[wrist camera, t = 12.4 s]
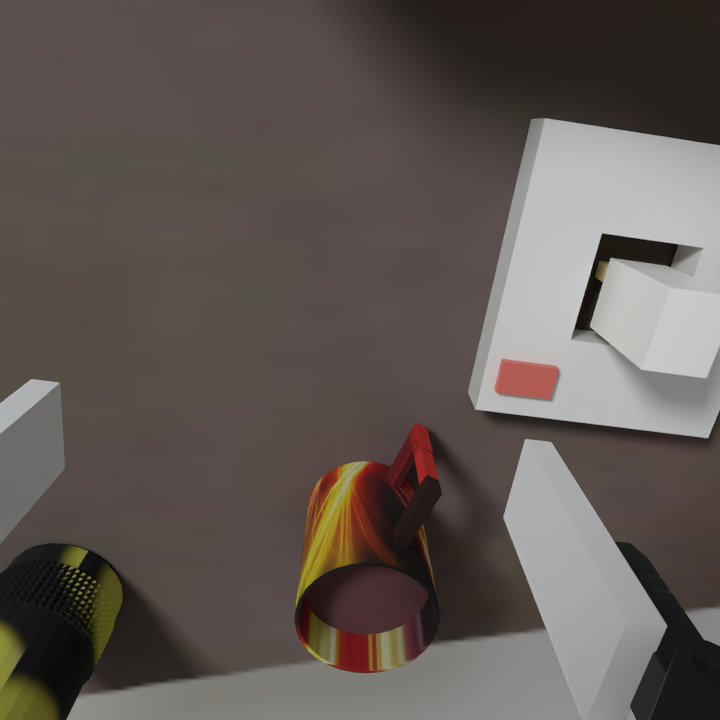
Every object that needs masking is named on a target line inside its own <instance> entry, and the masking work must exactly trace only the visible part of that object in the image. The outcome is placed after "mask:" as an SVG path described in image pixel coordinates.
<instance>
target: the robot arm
mask: <svg viewBox="0 0 720 720" xmlns="http://www.w3.org/2000/svg"><path fill="white" fill-rule="evenodd" d="M64 469H65V462H64V445H63V427H62V409H61V392H60V383H58V382H50V381H41V380H33V379H31V380H30V381H29V382H27V383H26V384H25V385H23V386H22V387H21V388H19V389H18V390H17V391H16V392H14V393H13V394H12V395H10V396H9V397H8V398H6V399H5V400H4V401H3V402H1V403H0V544H1V542H2V541H3V540H4V539H5V538H6V536H7V535H8V534H9V533H10V532H11V531H12V529H13V528H14V527H15V526H16V525H17V524H18V522H19V521H20V520H21V519H22V518H23V517H24V515H25V514H26V513H27V512H28V511H29V510H30V508H31V507H32V506H33V505H34V504H35V503H36V501H37V500H38V499H39V498H40V497H41V496H42V494H43V493H44V492H45V491H46V490H47V489H48V487H49V486H50V485H51V484H52V483H53V482H54V480H55V479H56V478H57V477H58V476H59V475H60V473H61V472H62V471H63V470H64ZM503 518H504V521H505V523H506V526H507V528H508V531H509V533H510V536H511V539H512V541H513V544H514V546H515V549H516V552H517V554H518V557H519V559H520V562H521V565H522V567H523V570H524V572H525V575H526V578H527V580H528V583H529V585H530V588H531V591H532V593H533V596H534V598H535V601H536V603H537V606H538V609H539V611H540V614H541V616H542V619H543V622H544V624H545V627H546V629H547V632H548V635H549V637H550V640H551V642H552V645H553V648H554V650H555V652H556V655H557V658H558V660H559V663H560V666H561V668H562V671H563V673H564V676H565V679H566V681H567V684H568V686H569V689H570V691H571V694H572V697H573V699H574V702H575V705H576V707H577V710H578V712H579V715H580V718H581V720H626V718H627V716H628V713H629V711H630V709H632V712H633V713H634V716H635V718H636V720H720V646H718V645H716V644H713V643H711V642H709V641H706V640H704V639H703V638H702V636H701V635H700V633H699V632H698V631H697V629H696V628H695V626H694V625H693V623H692V622H691V620H690V619H689V617H688V616H687V614H686V613H685V612H684V610H683V609H682V607H681V606H680V604H679V603H678V601H677V600H676V598H675V597H674V596H673V594H672V593H670V592H669V588H668V587H667V585H666V584H665V582H664V581H663V580H662V579H660V575H659V574H658V572H657V571H656V569H655V568H654V566H653V565H652V564H651V562H650V561H649V559H648V558H647V557H646V556H644V555H643V554H642V553H641V552H640V551H639V550H637V549H636V548H635V547H634V546H633V545H631V544H630V543H624V542H615V541H613V539H612V538H611V536H610V534H609V533H608V531H607V530H606V528H605V526H604V525H603V523H602V522H601V520H600V519H599V517H598V515H597V514H596V512H595V511H594V509H593V508H592V506H591V504H590V503H589V501H588V500H587V498H586V496H585V495H584V493H583V492H582V490H581V489H580V487H579V485H578V484H577V482H576V481H575V479H574V477H573V476H572V474H571V473H570V471H569V470H568V468H567V466H566V465H565V463H564V462H563V460H562V458H561V457H560V455H559V454H558V452H557V451H556V449H555V447H554V446H553V444H552V443H551V442H546V441H537V440H529V439H525V442H524V446H523V449H522V453H521V456H520V460H519V464H518V467H517V471H516V474H515V478H514V481H513V485H512V488H511V492H510V496H509V499H508V503H507V506H506V510H505V513H504V517H503Z"/></svg>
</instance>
